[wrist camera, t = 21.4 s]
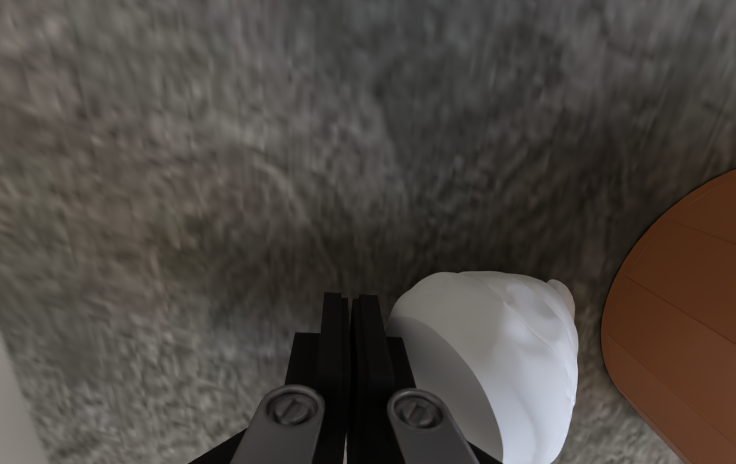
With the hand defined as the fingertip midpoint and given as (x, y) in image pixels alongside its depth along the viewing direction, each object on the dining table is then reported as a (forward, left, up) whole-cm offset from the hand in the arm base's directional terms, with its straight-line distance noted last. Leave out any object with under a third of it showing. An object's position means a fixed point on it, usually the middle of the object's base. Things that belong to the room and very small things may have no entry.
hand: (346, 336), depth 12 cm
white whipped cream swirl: (-3, 0, -2) cm, 4 cm away
